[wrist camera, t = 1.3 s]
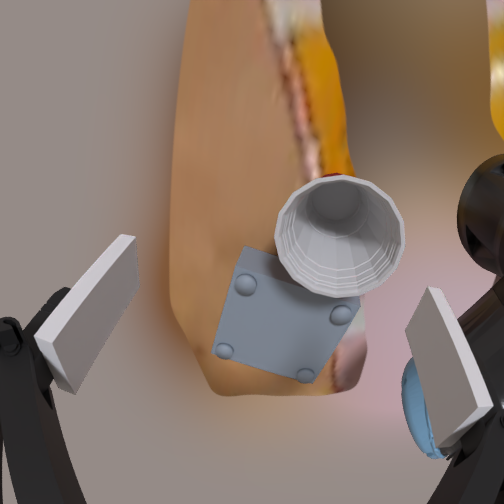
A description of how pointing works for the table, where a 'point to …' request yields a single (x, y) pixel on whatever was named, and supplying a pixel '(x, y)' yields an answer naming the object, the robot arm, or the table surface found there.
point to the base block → (279, 320)
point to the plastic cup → (340, 236)
